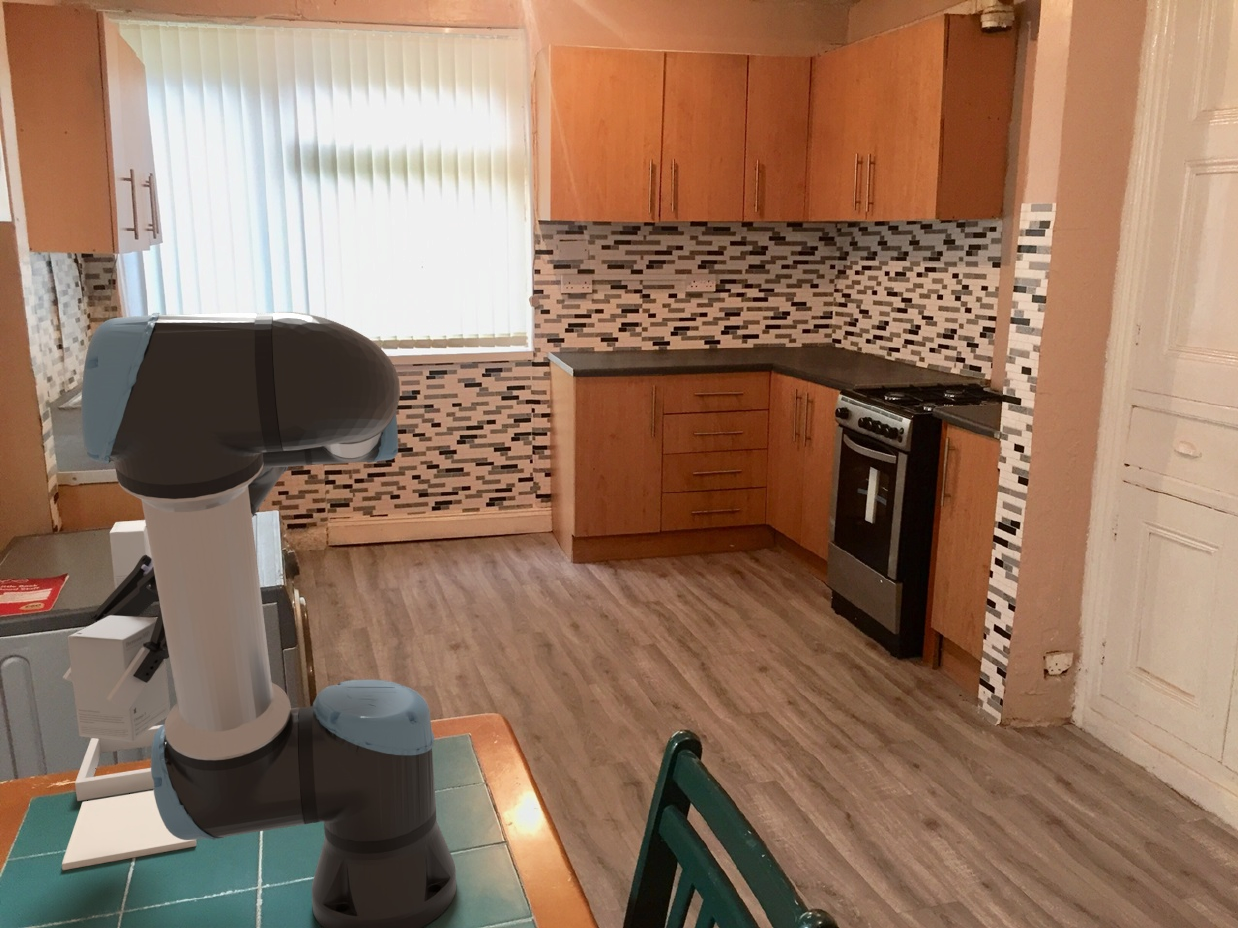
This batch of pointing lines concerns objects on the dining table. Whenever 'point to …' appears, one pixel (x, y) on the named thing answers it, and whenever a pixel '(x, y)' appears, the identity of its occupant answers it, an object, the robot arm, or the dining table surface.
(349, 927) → the robot arm
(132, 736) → the supplement box
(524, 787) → the dining table surface
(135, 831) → the cream coaster
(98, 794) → the white square frame
